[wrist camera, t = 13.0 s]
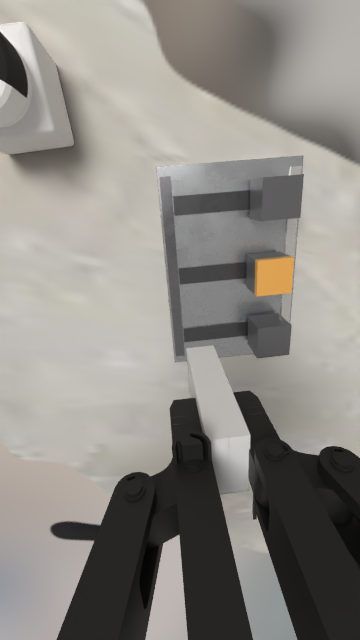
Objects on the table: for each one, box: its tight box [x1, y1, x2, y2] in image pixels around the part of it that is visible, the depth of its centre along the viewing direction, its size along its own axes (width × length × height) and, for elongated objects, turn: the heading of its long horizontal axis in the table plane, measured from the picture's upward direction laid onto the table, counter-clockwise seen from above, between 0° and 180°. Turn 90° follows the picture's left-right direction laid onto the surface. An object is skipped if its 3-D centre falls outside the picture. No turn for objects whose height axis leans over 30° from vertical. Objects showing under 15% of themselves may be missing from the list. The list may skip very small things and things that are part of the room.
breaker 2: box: [247, 313, 291, 358], centre depth 37 cm, size 4×4×4 cm
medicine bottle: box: [0, 22, 74, 155], centre depth 24 cm, size 7×7×12 cm
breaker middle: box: [246, 251, 294, 296], centre depth 34 cm, size 4×4×4 cm
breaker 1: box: [250, 174, 304, 221], centre depth 31 cm, size 4×4×4 cm
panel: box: [156, 156, 303, 362], centre depth 36 cm, size 16×24×2 cm, turn 4°
